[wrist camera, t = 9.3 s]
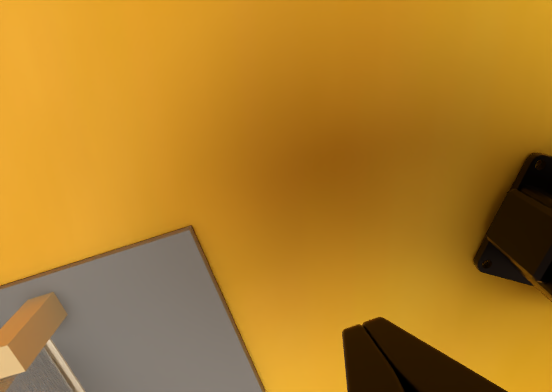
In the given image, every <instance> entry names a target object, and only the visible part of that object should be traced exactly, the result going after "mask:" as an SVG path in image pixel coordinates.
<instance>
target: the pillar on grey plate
mask: <svg viewBox="0 0 552 392" xmlns="http://www.w3.org/2000/svg"><path fill="white" fill-rule="evenodd" d="M0 392H73V390H72V389H71V387H70V386H69V384H68V383H67V381H66V380H65V378H64V377H63V375H62V374H61V372H60V371H59V369H58V368H57V366H56V365H55V363H54V362H53V360H52V359H51V357H50V356H49V354H48V353H47V351H46V350H45V348H44V347H43V349H42V350H41V351H40V353H39V354H38V355H37V357H36V358H35V359H34V361H33V362H32V363H31V365H30V366H29V368H28V369H27V370H26V371H25V372H22V373H18V374H15V375H12V376H8V377H5V378H1V379H0Z"/></svg>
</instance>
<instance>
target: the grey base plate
mask: <svg viewBox="0 0 552 392" xmlns="http://www.w3.org/2000/svg"><path fill="white" fill-rule="evenodd" d="M43 347H44V348H45V350H46V351H47V353H48V354H49V356H50V357H51V359H52V360H53V362H54V363H55V365H56V366H57V368H58V369H59V371H60V372H61V374H62V375H63V377H64V378H65V380H66V381H67V383H68V384H69V386H70V387H71V389H72V390H73V392H265V390H264V387H263V385H262V383H261V381H260V378H259V376H258V374H257V372H256V369H255V367H254V365H253V363H252V361H251V358H250V356H249V354H248V352H247V349H246V347H245V345H244V343H243V340H242V338H241V336H240V334H239V331H238V329H237V327H236V325H235V322H234V320H233V318H232V316H231V314H230V311H229V309H228V307H227V305H226V302H225V300H224V298H223V296H222V293H221V291H220V289H219V287H218V284H217V282H216V280H215V278H214V276H213V273H212V271H211V269H210V267H209V264H208V262H207V260H206V258H205V255H204V253H203V251H202V249H201V246H200V244H199V242H198V240H197V237H196V235H195V233H194V231H193V229H192V226H188V227H185V228H182V229H179V230H176V231H173V232H170V233H166V234H163V235H160V236H157V237H154V238H151V239H147V240H144V241H141V242H138V243H135V244H132V245H129V246H125V247H122V248H119V249H116V250H113V251H110V252H106V253H103V254H100V255H97V256H94V257H91V258H88V259H84V260H81V261H78V262H75V263H72V264H69V265H65V266H62V267H59V268H56V269H53V270H50V271H47V272H43V273H40V274H37V275H34V276H31V277H28V278H24V279H21V280H18V281H15V282H12V283H9V284H6V285H2V286H0V379H1V378H5V377H8V376H12V375H15V374H18V373H22V372H25V371H26V370H27V369H28V368H29V366H30V365H31V363H32V362H33V361H34V359H35V358H36V357H37V355H38V354H39V353H40V351H41V350H42V349H43Z"/></svg>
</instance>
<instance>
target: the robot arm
mask: <svg viewBox="0 0 552 392" xmlns="http://www.w3.org/2000/svg"><path fill="white" fill-rule="evenodd" d="M539 160H541V163H540V165H539V166H538V167H536V168H535V164H536V163H537V162H538V161H539ZM485 260H488V262H487V263H486V264H484V265H482V263H483V262H484V261H485ZM474 265H475V266H476V268H477V269H478V270H479V271H481V272H483V273H487V274H490V275H494V276H498V277H502V278H505V279H509V280H513V281H517V282H520V283H524V284H528V285H532V286H535V287H536V288H537V289H538V290H539V291H541V292H542V293H543V294H544V295H545V296H546V297H547V298H548V299H549V300H550V301H551V302H552V156H549V155H546V154H542V153H534V154H532V155H530V156H529V157H528V158H527V159H526V161H525V163H524V165H523V167H522V169H521V171H520V172H519V174H518V176H517V178H516V180H515V182H514V184H513V186H512V188H511V190H510V191H509V192H508V193H507V195H506V197H505V199H504V201H503V203H502V205H501V207H500V209H499V211H498V212H497V214H496V216H495V218H494V220H493V222H492V224H491V226H490V228H489V230H488V231H487V233H486V237H485V239H484V241H483V243H482V245H481V247H480V248H479V250H478V252H477V254H476V256H475V258H474ZM342 337H343V347H344V358H345V369H346V380H347V391H348V392H507V391H506V390H504V389H502V388H501V387H499V386H497V385H496V384H494V383H492V382H491V381H489V380H487V379H486V378H484V377H482V376H480V375H479V374H477V373H475V372H474V371H472V370H470V369H469V368H467V367H465V366H464V365H462V364H460V363H459V362H457V361H455V360H454V359H452V358H450V357H449V356H447V355H445V354H443V353H442V352H440V351H438V350H437V349H435V348H433V347H432V346H430V345H428V344H427V343H425V342H423V341H422V340H420V339H418V338H417V337H415V336H413V335H411V334H410V333H408V332H406V331H405V330H403V329H401V328H400V327H398V326H396V325H395V324H393V323H391V322H390V321H388V320H386V319H384V318H382V317H377V318H375V319H372V320H369V321H366V322H364V323H363V324H362V325H360V324H358V325H355V326H352V327H349V328H347V329H344V330H343V332H342Z"/></svg>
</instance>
